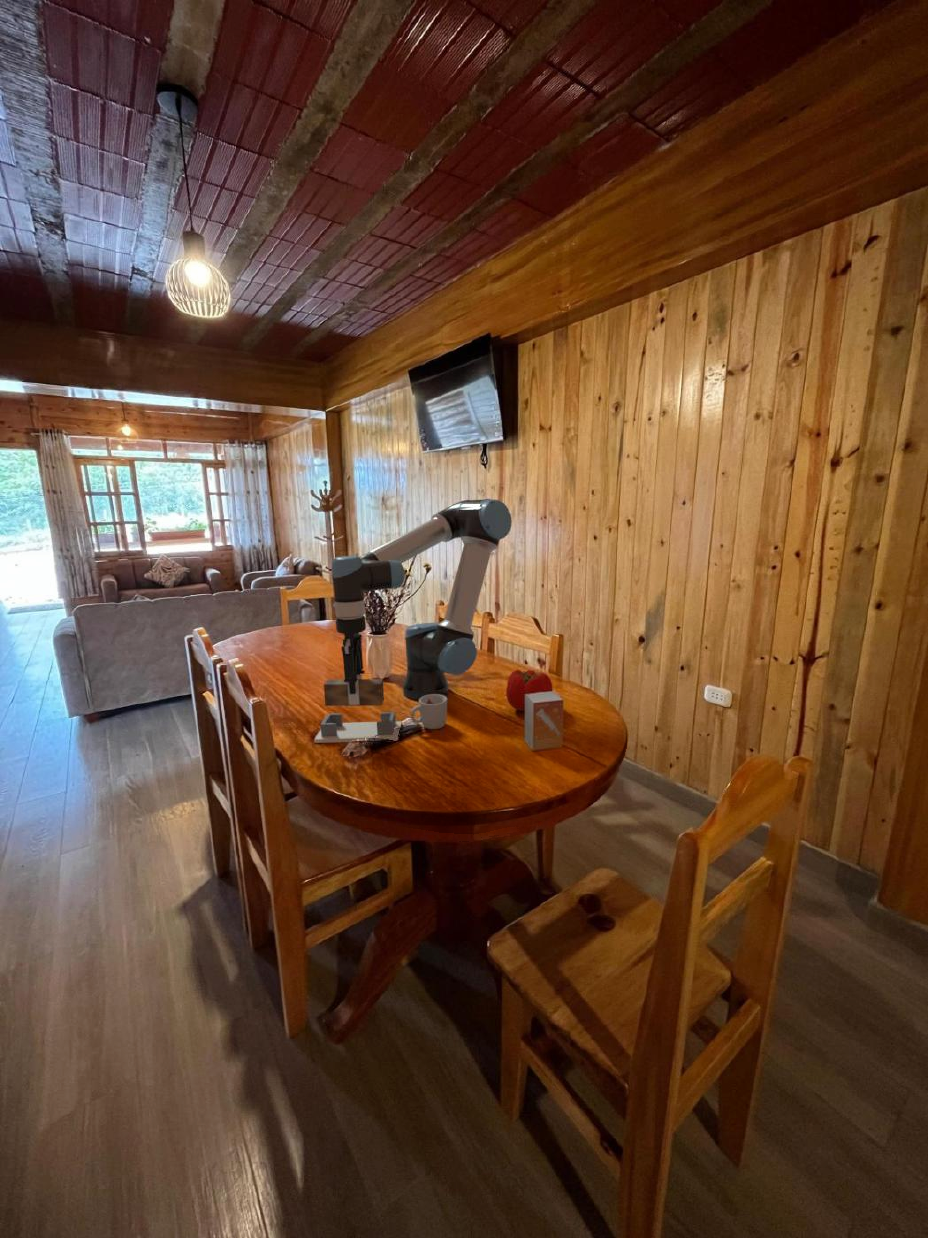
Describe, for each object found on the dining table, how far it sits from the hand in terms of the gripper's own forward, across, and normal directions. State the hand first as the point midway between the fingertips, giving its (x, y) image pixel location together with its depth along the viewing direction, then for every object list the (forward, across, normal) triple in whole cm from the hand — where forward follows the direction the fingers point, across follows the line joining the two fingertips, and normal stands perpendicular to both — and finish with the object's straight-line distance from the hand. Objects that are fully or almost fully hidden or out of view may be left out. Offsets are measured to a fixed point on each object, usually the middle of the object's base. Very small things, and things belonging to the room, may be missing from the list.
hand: (356, 700), depth 135 cm
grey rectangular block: (+1, 0, 0) cm, 1 cm away
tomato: (+9, -14, +48) cm, 51 cm away
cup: (+10, -3, +19) cm, 22 cm away
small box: (+10, +9, +49) cm, 51 cm away
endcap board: (+10, 0, 0) cm, 10 cm away
